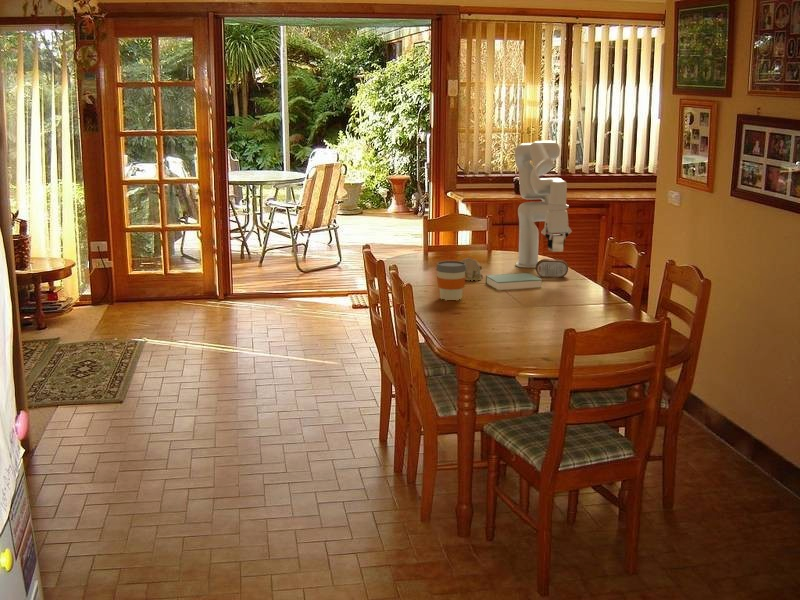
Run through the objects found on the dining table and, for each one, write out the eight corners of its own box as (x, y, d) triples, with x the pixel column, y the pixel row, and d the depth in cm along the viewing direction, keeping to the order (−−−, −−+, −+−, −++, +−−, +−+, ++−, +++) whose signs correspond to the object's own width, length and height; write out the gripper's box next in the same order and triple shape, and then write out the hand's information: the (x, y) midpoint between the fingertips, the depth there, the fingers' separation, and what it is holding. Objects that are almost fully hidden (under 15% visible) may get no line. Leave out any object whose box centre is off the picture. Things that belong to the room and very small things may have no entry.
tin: (567, 276, 437) (568, 259, 435) (568, 278, 434) (568, 260, 432) (535, 276, 439) (535, 258, 437) (535, 277, 436) (536, 259, 434)
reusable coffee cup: (431, 296, 399) (431, 261, 395) (458, 293, 403) (458, 259, 399) (443, 302, 387) (443, 267, 384) (470, 300, 391) (471, 265, 388)
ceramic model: (487, 277, 436) (487, 256, 434) (477, 282, 427) (477, 260, 424) (459, 274, 443) (460, 254, 440) (449, 279, 433) (449, 258, 431)
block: (548, 249, 425) (548, 234, 423) (558, 249, 426) (559, 234, 425) (552, 251, 420) (553, 236, 419) (563, 251, 422) (563, 236, 420)
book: (485, 284, 424) (485, 275, 423) (528, 281, 429) (528, 272, 428) (497, 291, 409) (497, 282, 409) (541, 288, 415) (542, 279, 414)
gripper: (571, 206, 424) (569, 245, 429) (536, 207, 420) (535, 247, 424) (578, 208, 417) (576, 248, 422) (543, 209, 413) (541, 250, 417)
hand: (555, 247), depth 423 cm, fingers closed on block, 5 cm apart
